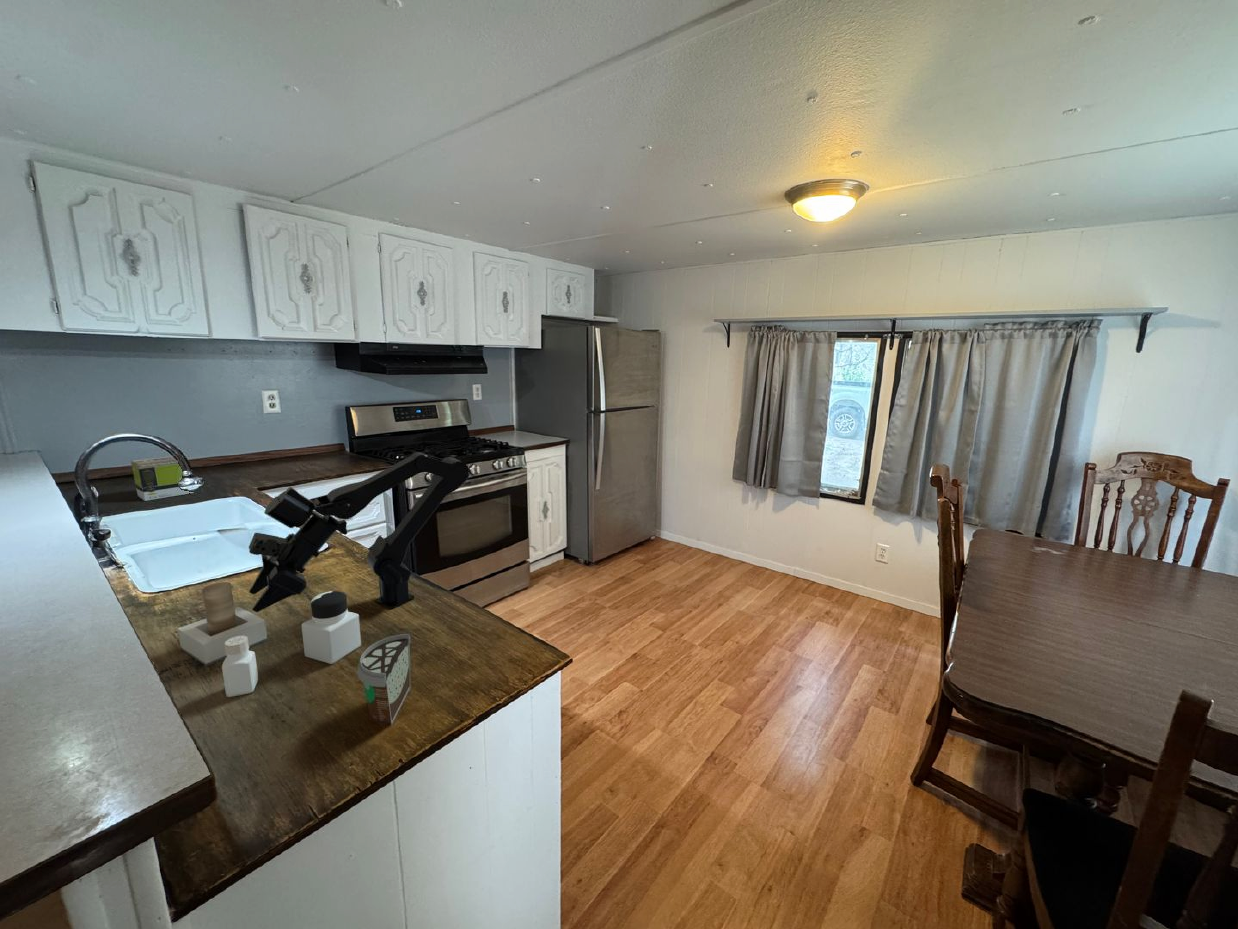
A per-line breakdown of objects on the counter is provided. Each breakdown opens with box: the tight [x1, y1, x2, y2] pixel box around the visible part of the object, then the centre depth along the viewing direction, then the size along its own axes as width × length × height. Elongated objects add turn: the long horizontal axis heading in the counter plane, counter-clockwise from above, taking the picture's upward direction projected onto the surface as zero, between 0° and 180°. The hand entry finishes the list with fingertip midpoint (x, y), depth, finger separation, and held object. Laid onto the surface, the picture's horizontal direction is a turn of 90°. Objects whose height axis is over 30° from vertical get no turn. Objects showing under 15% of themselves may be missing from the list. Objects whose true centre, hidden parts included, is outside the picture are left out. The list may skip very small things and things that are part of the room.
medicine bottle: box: [301, 590, 362, 665], centre depth 98 cm, size 7×7×12 cm
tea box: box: [130, 455, 194, 502], centre depth 195 cm, size 15×10×15 cm, turn 144°
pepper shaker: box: [221, 636, 259, 698], centre depth 86 cm, size 4×4×10 cm
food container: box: [356, 633, 412, 726], centre depth 83 cm, size 12×6×10 cm, turn 5°
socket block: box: [177, 606, 268, 667], centre depth 99 cm, size 10×10×4 cm
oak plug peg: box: [201, 581, 237, 636], centre depth 98 cm, size 4×4×12 cm
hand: (252, 601), depth 101 cm, fingers open, 9 cm apart
